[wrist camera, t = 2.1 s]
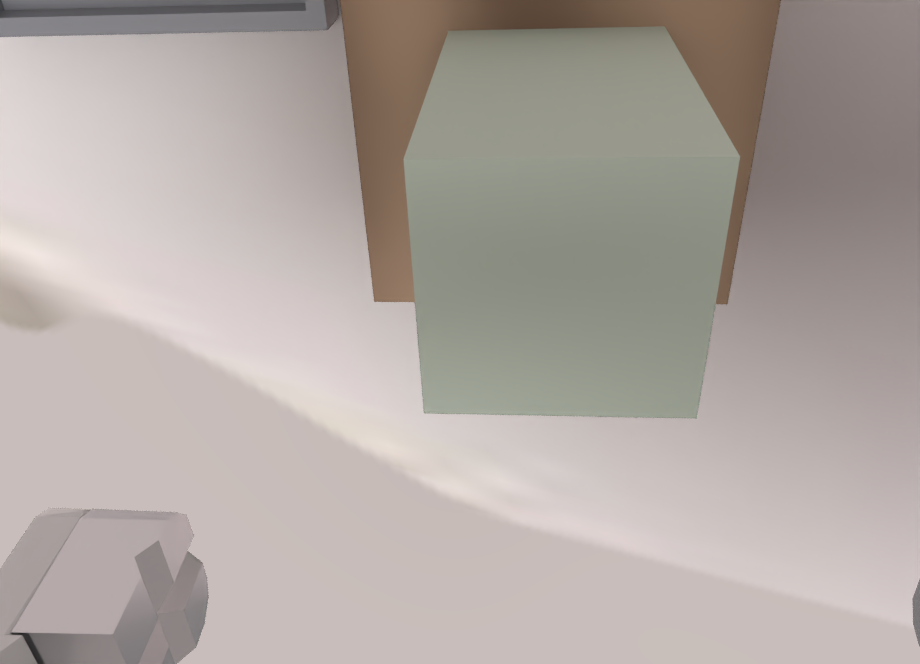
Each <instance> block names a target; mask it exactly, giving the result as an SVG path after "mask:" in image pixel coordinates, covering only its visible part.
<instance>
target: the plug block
mask: <svg viewBox="0 0 920 664" xmlns="http://www.w3.org/2000/svg"><path fill="white" fill-rule="evenodd" d="M403 160H404V172H405V185H406V197H407V209H408V222H409V234H410V247H411V259H412V272H413V284H414V297H415V309H416V322H417V334H418V346H419V359H420V371H421V384H422V396H423V409H424V413H435V414H488V415H542V416H595V417H648V418H697V413H698V407H699V401H700V395H701V389H702V383H703V377H704V371H705V365H706V359H707V353H708V347H709V341H710V335H711V329H712V323H713V317H714V311H715V305H716V299H717V293H718V287H719V281H720V275H721V269H722V263H723V257H724V251H725V245H726V239H727V233H728V227H729V221H730V215H731V209H732V203H733V197H734V191H735V185H736V179H737V173H738V166H739V160H740V156H739V154H738V152H737V150H736V149H735V147H734V145H733V143H732V142H731V140H730V138H729V137H728V135H727V133H726V131H725V130H724V128H723V126H722V124H721V123H720V121H719V119H718V117H717V116H716V114H715V112H714V111H713V109H712V107H711V105H710V104H709V102H708V100H707V98H706V97H705V95H704V93H703V92H702V90H701V88H700V86H699V85H698V83H697V81H696V79H695V78H694V76H693V74H692V73H691V71H690V69H689V67H688V66H687V64H686V62H685V60H684V59H683V57H682V55H681V54H680V52H679V50H678V48H677V47H676V45H675V43H674V41H673V40H672V38H671V36H670V35H669V33H668V31H667V29H666V28H665V26H656V27H608V28H559V29H511V30H462V31H448V34H447V36H446V39H445V42H444V45H443V48H442V51H441V54H440V56H439V59H438V62H437V65H436V68H435V71H434V73H433V76H432V79H431V82H430V85H429V88H428V91H427V93H426V96H425V99H424V102H423V105H422V108H421V111H420V113H419V116H418V119H417V122H416V125H415V128H414V131H413V133H412V136H411V139H410V142H409V145H408V148H407V150H406V153H405V156H404V159H403Z"/></svg>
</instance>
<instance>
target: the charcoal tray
mask: <svg viewBox="0 0 920 664" xmlns="http://www.w3.org/2000/svg"><path fill="white" fill-rule="evenodd" d="M337 18H338V8H337V0H0V37H21V36H69V35H116V34H164V33H212V32H260V31H307V30H328V29H329V28H330V27H331V25H332V24H333V23H334V22H335V21H336V20H337Z"/></svg>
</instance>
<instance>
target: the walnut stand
mask: <svg viewBox="0 0 920 664" xmlns="http://www.w3.org/2000/svg"><path fill="white" fill-rule="evenodd" d="M780 1H781V0H340V4H341V12H342V21H343V30H344V39H345V48H346V57H347V65H348V74H349V83H350V92H351V101H352V109H353V118H354V127H355V136H356V145H357V153H358V162H359V171H360V180H361V189H362V198H363V206H364V215H365V224H366V233H367V242H368V250H369V259H370V268H371V277H372V286H373V294H374V302H415V297H414V284H413V272H412V259H411V247H410V234H409V222H408V209H407V197H406V185H405V172H404V160H403V159H404V156H405V153H406V150H407V148H408V145H409V142H410V139H411V136H412V133H413V131H414V128H415V125H416V122H417V119H418V116H419V113H420V111H421V108H422V105H423V102H424V99H425V96H426V93H427V91H428V88H429V85H430V82H431V79H432V76H433V73H434V71H435V68H436V65H437V62H438V59H439V56H440V54H441V51H442V48H443V45H444V42H445V39H446V36H447V34H448V31H462V30H511V29H559V28H608V27H656V26H665V28H666V29H667V31H668V33H669V35H670V36H671V38H672V40H673V41H674V43H675V45H676V47H677V48H678V50H679V52H680V54H681V55H682V57H683V59H684V60H685V62H686V64H687V66H688V67H689V69H690V71H691V73H692V74H693V76H694V78H695V79H696V81H697V83H698V85H699V86H700V88H701V90H702V92H703V93H704V95H705V97H706V98H707V100H708V102H709V104H710V105H711V107H712V109H713V111H714V112H715V114H716V116H717V117H718V119H719V121H720V123H721V124H722V126H723V128H724V130H725V131H726V133H727V135H728V137H729V138H730V140H731V142H732V143H733V145H734V147H735V149H736V150H737V152H738V154H739V156H740V160H739V166H738V173H737V179H736V185H735V191H734V197H733V203H732V209H731V215H730V221H729V227H728V233H727V239H726V245H725V251H724V257H723V263H722V269H721V275H720V281H719V287H718V293H717V299H716V304H727V303H728V298H729V292H730V286H731V281H732V275H733V269H734V263H735V258H736V252H737V246H738V241H739V235H740V229H741V224H742V218H743V212H744V207H745V201H746V195H747V189H748V184H749V178H750V172H751V167H752V161H753V155H754V150H755V144H756V138H757V132H758V127H759V121H760V115H761V110H762V104H763V98H764V93H765V87H766V81H767V76H768V70H769V64H770V58H771V53H772V47H773V41H774V36H775V30H776V24H777V19H778V13H779V7H780Z"/></svg>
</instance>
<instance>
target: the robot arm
mask: <svg viewBox="0 0 920 664" xmlns="http://www.w3.org/2000/svg"><path fill="white" fill-rule="evenodd" d="M193 537H194V534H193V531H192V529H191V526H190V524H189V520H188V518H187V515H185V514H181V513H177V512H155V511H131V510H106V509H92V510H91V509H65V508H48V509H47V510H45V511H44V512H42V513H41V514H39V515H38V516H36V517H35V518H34V520H33V521H32V523H31V524H30V526H29V527H28V529H27V530H26V531H25V533H24V534H23V536H22V537H21V539H20V540H19V542H18V543H17V545H16V546H15V548H14V549H13V551H12V552H11V554H10V555H9V557H8V558H7V560H6V561H5V563H4V564H3V566H2V567H1V568H0V664H177V663H178V662H179V661H180V660H182V659H183V658H184V657H185V656H186V655H187V654H189V653H190V652H191V651H192V650H193V649H194V648H196V646H197V643H198V641H199V638H200V635H201V632H202V629H203V626H204V623H205V617H206V610H207V603H208V584H207V576H206V573H205V569H204V566H203V563H202V562H201V561H200V560H198V559H197V558H196V557H195V556H193V555H192V554H191V553H190V552H188V548H189V546H190V544H191V542H192V539H193ZM913 625H914V629H915V632H916V636H917V639H918V643H919V646H920V580H919V583H918V585H917V588H916V591H915V594H914V597H913Z"/></svg>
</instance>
